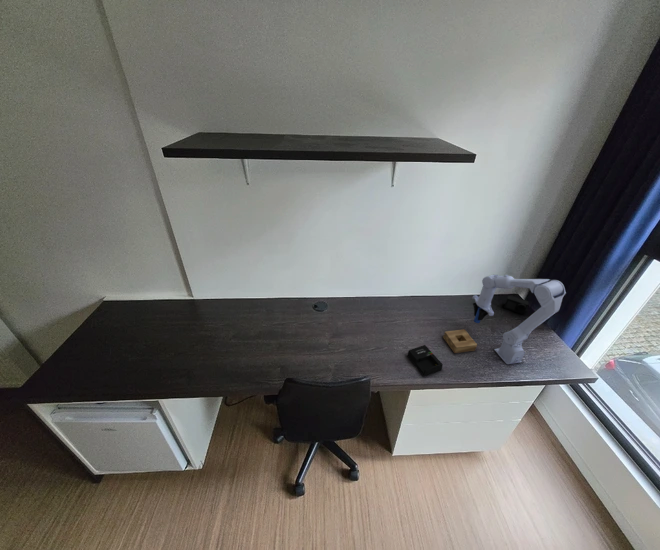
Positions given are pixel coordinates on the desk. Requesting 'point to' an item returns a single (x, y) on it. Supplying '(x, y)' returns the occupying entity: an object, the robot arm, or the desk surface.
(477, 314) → the handle
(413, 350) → the battery charger
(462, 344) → the holder
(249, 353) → the desk surface
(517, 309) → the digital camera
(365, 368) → the desk surface
